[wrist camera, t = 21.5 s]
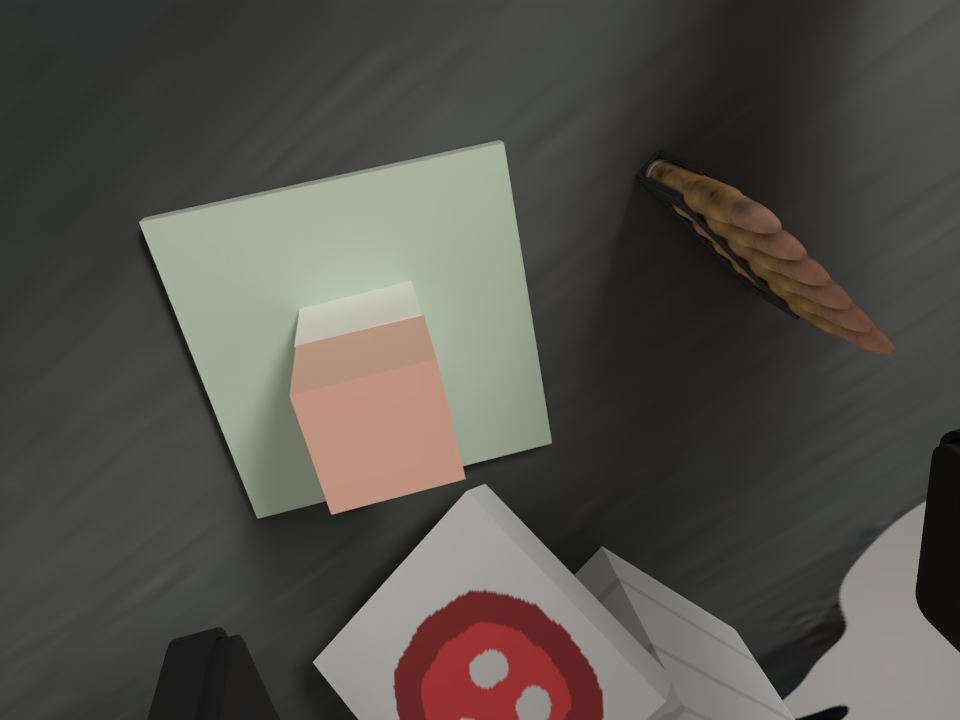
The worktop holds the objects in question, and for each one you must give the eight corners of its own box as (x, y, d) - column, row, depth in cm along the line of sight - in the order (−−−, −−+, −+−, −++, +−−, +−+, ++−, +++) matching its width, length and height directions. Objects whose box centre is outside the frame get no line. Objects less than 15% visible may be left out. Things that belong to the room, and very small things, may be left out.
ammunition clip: (774, 268, 43) (921, 348, 32) (751, 292, 43) (888, 379, 32) (658, 149, 38) (783, 194, 28) (634, 176, 39) (748, 231, 28)
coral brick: (423, 314, 33) (436, 358, 29) (449, 423, 36) (465, 478, 31) (296, 346, 33) (289, 395, 28) (332, 453, 35) (331, 514, 31)
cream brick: (411, 280, 38) (421, 314, 33) (437, 379, 40) (449, 422, 36) (299, 309, 37) (294, 346, 33) (332, 406, 40) (332, 454, 35)
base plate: (499, 140, 37) (503, 142, 36) (547, 435, 44) (552, 443, 44) (144, 217, 35) (139, 222, 34) (259, 508, 43) (257, 518, 42)
